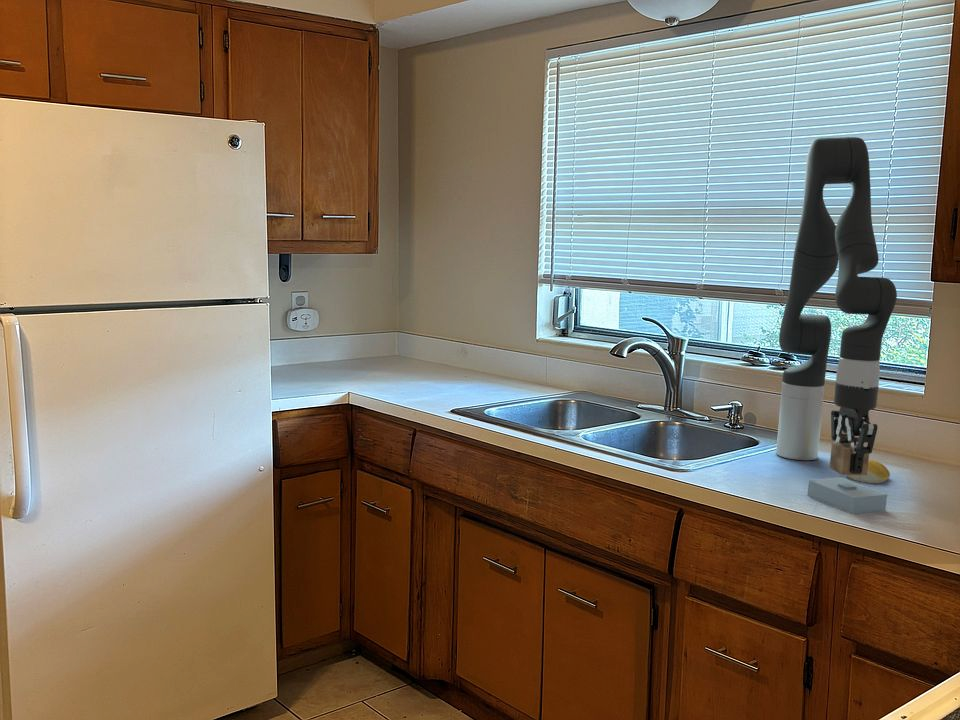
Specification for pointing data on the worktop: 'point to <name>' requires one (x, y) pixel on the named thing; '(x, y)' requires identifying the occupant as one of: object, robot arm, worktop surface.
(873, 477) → the bread roll
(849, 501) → the butter dish
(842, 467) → the walnut cube
